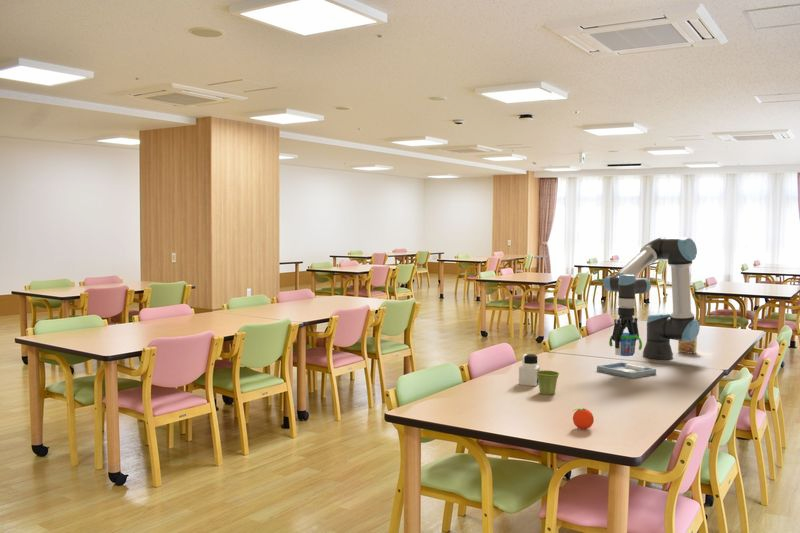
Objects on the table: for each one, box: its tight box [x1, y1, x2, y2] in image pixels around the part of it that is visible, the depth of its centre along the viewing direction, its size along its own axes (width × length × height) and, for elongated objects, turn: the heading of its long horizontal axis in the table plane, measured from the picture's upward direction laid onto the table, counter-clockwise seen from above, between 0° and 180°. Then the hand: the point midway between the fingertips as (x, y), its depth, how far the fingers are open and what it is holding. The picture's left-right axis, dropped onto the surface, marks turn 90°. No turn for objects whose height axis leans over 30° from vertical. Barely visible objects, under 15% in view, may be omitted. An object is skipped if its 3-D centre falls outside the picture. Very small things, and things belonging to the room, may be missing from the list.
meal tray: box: [596, 361, 657, 380], centre depth 326 cm, size 18×20×3 cm
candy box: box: [677, 336, 698, 354], centre depth 381 cm, size 9×4×15 cm, turn 51°
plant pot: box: [536, 369, 560, 396], centre depth 284 cm, size 9×9×9 cm
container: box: [518, 353, 541, 387], centre depth 301 cm, size 8×8×13 cm
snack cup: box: [608, 332, 643, 357], centre depth 325 cm, size 16×10×10 cm
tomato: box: [569, 408, 595, 430], centre depth 233 cm, size 8×7×7 cm
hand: (625, 354), depth 325 cm, fingers closed on snack cup, 9 cm apart
